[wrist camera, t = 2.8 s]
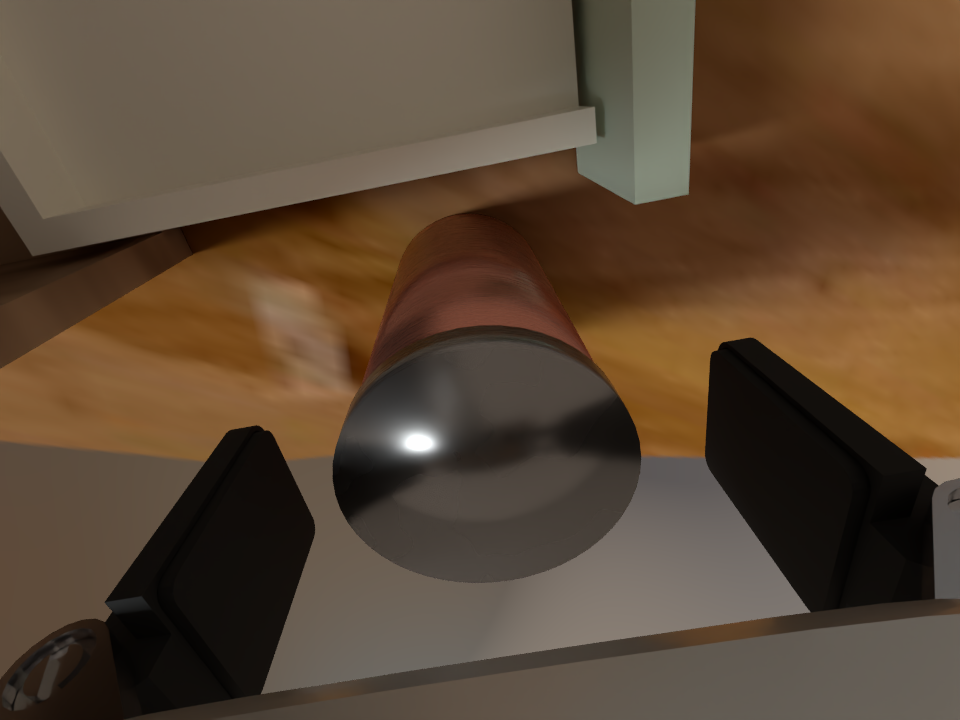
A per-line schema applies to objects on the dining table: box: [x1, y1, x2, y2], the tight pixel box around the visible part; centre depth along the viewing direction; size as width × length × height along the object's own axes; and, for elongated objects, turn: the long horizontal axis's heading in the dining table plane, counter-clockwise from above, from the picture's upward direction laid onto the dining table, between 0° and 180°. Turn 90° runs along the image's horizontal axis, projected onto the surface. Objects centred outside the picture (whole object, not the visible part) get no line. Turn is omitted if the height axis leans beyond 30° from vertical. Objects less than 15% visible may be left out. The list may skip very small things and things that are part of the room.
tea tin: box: [333, 214, 641, 583], centre depth 13 cm, size 5×5×10 cm
